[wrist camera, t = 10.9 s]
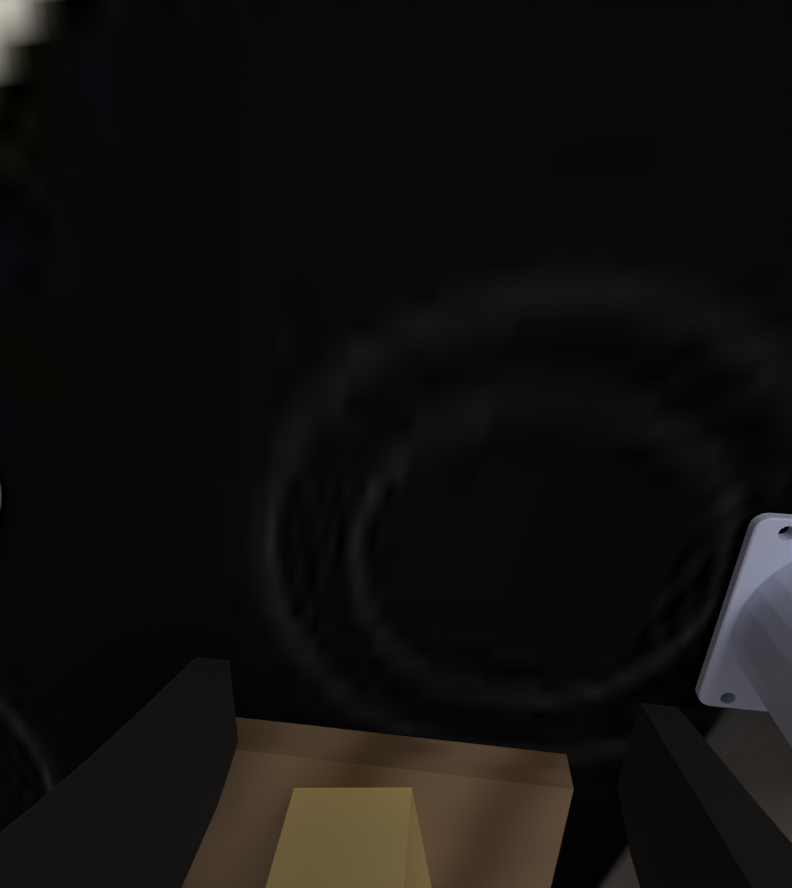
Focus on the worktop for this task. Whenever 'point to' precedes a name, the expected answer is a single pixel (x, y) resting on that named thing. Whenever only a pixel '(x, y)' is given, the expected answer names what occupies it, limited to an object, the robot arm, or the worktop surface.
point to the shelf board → (391, 766)
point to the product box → (350, 840)
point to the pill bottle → (0, 496)
